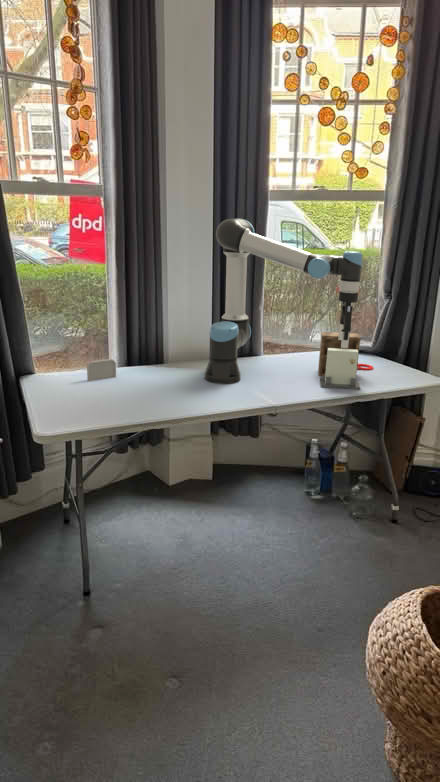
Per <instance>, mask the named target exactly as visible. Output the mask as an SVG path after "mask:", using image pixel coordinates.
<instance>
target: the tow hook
mask: <svg viewBox="0 0 440 782" xmlns="http://www.w3.org/2000/svg"><path fill="white" fill-rule="evenodd" d="M360 347H361V345H360V346H359V349H360ZM357 370H362V371H373V370H374V366H373V365H370V364H366V363H358V364H357Z"/></svg>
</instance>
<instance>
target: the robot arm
mask: <svg viewBox="0 0 440 782" xmlns="http://www.w3.org/2000/svg"><path fill="white" fill-rule="evenodd" d="M215 232H216V233H215V237H216V240H217V242H218V244H219V245H220V246H221V247H222V251H223V252H222V253H223V254H224V255H225V256H226V266H225V267H226V268H225V269H226V273H225V274H226V275H225V311H224V312H225V313H223V315H222V316H221V321H218V322H217V321H216V322H214V323H213V324H212V325H211V326H210V328H209V352H208V353H209V359H208V360H209V361H208V362H207V365H206V369H205V371H204V380H206V381H208V382H211V383H214V384H223V385H225V384H235V383H238V382H240V380H241V376H242V375H241V370H240V368H239V363H238V349H239V348H240V347H243V346H244V345H246V344H247V342H248V341H249V339H250V338H251V335H252V328H251V326H250V324H249V316H248V315H247V314H246V298H247V296H246V295H247V275H248V274H247V271H248V257H249V255H254V256H257V257H259V258H262V259H266V260H269V261H271V262H274V263H277V264H279V265H281V266H285V267H288V268H290V269H293V270H296V271H298V272H299V271H300V272H302V273H304V274H306V275H309V276H311V278H313V279H317V280H318V279H323V278H326V277H327V276H328V275H329V276H331V275H332V276H340V280H339V291H338V299H337V300H338V301H339V302H341V303H342V305H341V311H340V313H341V314H340V319H339V323H340V324H339V328H338V333H339V338H338V340H342V341H341V348H348V343H349V334H350V333H351V331H352V328H351V327H352V316H353V310H354V309H353V306H352V304H353V303H355V304H356V303H358V300H359V293H358V292H359V290H360V287H361V286H362V284H361V283H360V282H361V274H362V268H363V257H364V256H363V253H362V252H360V251H354V250H353V251H350V250H345V251H344V252H343V254H342V255H330V254H328V255H327V254H323V253H322V254H318V253H316V254H314V253H312V252H309V251H305V250H302V249H299V248H297V247H294V246H291V245H289V244H286V243H282V242H281V241H280V242H279V241H276V240H273V239H271V238H268V237H265V236H262V235H259V234H258V233H256V232H255V228H254V226H253V224H252V223H251V222H249V221H248V220H247V219H244V218H229V219H228V218H227V219H225V220H222V222H220V223H219V225H218V226H217V228H216V231H215Z"/></svg>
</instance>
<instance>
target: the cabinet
mask: <svg viewBox="0 0 440 782" xmlns="http://www.w3.org/2000/svg"><path fill="white" fill-rule="evenodd" d="M338 338H339V332H333V331H331V332H330V331H321V334H320V346H319V347H320V348H319V357H318V366H317V367H318V369H317V372H318V376H320V377H325V372H326V362H327V352H328V348H336V349H353V350H358V356H360V355H359V354H360V348H359V346H360V347H361V345H360V344H361V336H360V334H359V333H354V332H353V333H352V332H350V334H349V343H348V348H341V341H342V340H338ZM357 364H359V359H358V360H357ZM357 373H358V371H357V369H356V374H357Z"/></svg>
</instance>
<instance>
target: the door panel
mask: <svg viewBox="0 0 440 782" xmlns="http://www.w3.org/2000/svg"><path fill="white" fill-rule="evenodd" d="M357 360H358V361H359V355H358V350H353V349H336V348H328V352H327V362H326V373H325V376H324V378H325V383H326V377H331V384H347V385H350V381H351V378H355V379H357V373H356V369H357Z"/></svg>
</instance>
